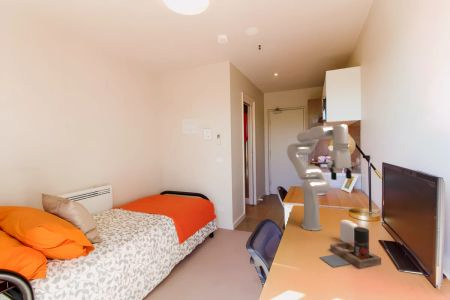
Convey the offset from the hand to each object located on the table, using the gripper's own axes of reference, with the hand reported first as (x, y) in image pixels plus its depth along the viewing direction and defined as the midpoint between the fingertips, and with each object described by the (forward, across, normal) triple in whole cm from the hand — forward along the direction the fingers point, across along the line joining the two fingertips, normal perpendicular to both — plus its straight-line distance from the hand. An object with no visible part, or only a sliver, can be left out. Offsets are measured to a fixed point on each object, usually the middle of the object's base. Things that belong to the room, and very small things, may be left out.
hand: (341, 179), depth 119 cm
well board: (+36, +4, +11) cm, 38 cm away
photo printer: (+36, -6, -1) cm, 37 cm away
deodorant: (+36, +4, +15) cm, 40 cm away
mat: (+36, +16, +12) cm, 41 cm away
